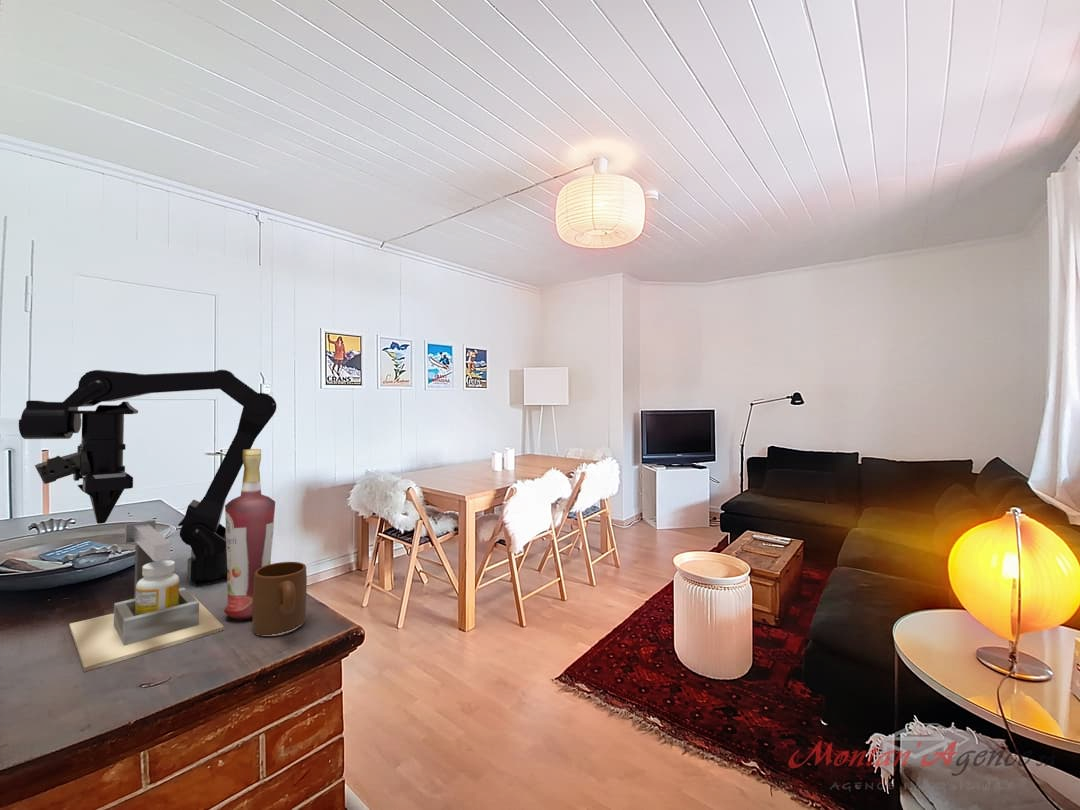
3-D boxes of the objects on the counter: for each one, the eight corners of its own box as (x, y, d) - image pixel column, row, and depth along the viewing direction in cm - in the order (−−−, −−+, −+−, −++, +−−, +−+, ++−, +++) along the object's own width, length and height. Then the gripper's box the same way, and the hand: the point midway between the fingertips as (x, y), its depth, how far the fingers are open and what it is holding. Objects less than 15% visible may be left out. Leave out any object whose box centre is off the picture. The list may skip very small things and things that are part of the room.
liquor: (279, 614, 81) (283, 450, 81) (229, 628, 76) (233, 453, 76) (264, 601, 86) (268, 447, 86) (217, 613, 81) (221, 449, 81)
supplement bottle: (138, 636, 71) (139, 572, 71) (131, 625, 75) (132, 564, 75) (182, 624, 76) (183, 564, 76) (173, 614, 79) (174, 556, 79)
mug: (316, 641, 73) (318, 579, 73) (259, 656, 68) (261, 590, 68) (300, 612, 82) (301, 558, 82) (249, 624, 78) (250, 566, 78)
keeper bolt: (154, 537, 86) (154, 519, 86) (178, 559, 75) (178, 539, 75) (124, 542, 83) (125, 523, 83) (145, 565, 72) (146, 544, 72)
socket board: (192, 597, 87) (193, 536, 87) (223, 630, 75) (225, 559, 75) (69, 627, 75) (71, 555, 75) (84, 671, 63) (86, 586, 63)
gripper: (36, 436, 88) (34, 521, 88) (43, 444, 76) (41, 542, 76) (116, 434, 96) (114, 512, 96) (134, 441, 84) (132, 529, 84)
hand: (101, 523), depth 88 cm, fingers closed
